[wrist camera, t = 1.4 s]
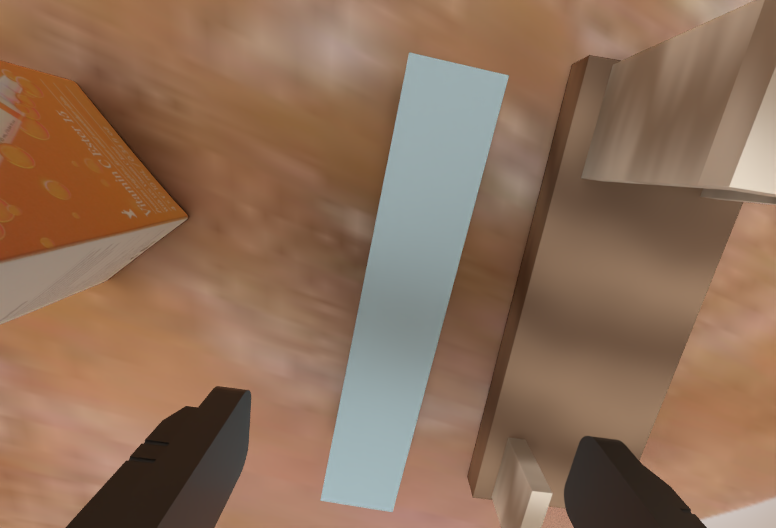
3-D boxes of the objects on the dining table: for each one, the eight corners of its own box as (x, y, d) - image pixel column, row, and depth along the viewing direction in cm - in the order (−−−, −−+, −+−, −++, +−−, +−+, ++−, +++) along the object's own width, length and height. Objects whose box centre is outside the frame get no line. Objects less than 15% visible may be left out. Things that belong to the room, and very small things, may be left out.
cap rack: (572, 64, 17) (769, -44, 8) (754, 95, 17) (1129, 23, 9) (467, 476, 23) (516, 664, 14) (603, 492, 23) (730, 685, 15)
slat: (403, 84, 17) (409, 52, 12) (475, 100, 18) (508, 75, 13) (334, 428, 22) (320, 500, 18) (391, 438, 23) (392, 512, 18)
